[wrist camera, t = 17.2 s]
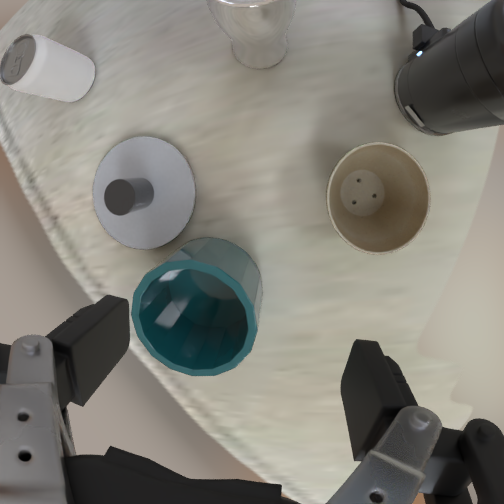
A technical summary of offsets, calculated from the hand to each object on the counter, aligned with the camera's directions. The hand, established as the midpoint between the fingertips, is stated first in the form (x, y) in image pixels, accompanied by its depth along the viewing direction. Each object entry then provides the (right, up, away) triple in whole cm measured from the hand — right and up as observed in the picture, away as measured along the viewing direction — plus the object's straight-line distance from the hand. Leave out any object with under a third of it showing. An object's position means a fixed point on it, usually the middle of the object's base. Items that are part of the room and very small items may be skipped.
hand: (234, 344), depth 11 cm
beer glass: (+2, +26, +19) cm, 32 cm away
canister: (-4, -1, +26) cm, 27 cm away
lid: (-12, +10, +24) cm, 28 cm away
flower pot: (+12, +10, +23) cm, 27 cm away
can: (-22, +25, +21) cm, 40 cm away
